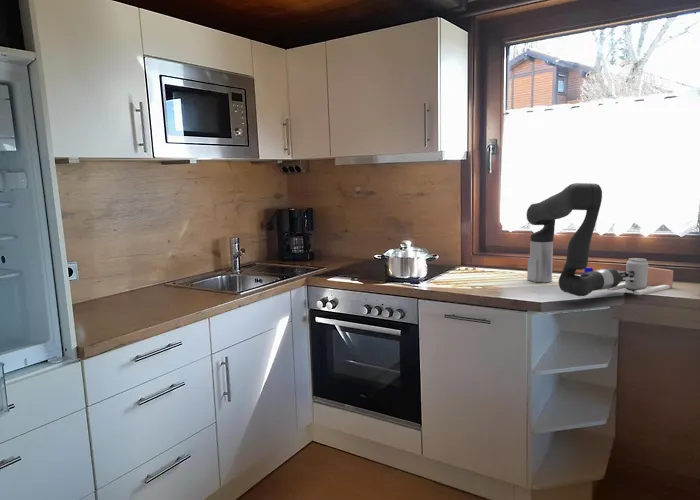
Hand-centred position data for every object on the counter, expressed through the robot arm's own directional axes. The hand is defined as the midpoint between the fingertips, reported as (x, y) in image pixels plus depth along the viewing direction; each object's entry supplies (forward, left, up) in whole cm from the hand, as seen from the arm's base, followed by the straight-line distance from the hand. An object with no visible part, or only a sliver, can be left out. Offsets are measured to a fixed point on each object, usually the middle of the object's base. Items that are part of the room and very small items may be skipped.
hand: (632, 273), depth 202 cm
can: (+3, +1, -7) cm, 8 cm away
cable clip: (-6, +16, -7) cm, 18 cm away
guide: (+6, +2, -7) cm, 9 cm away
